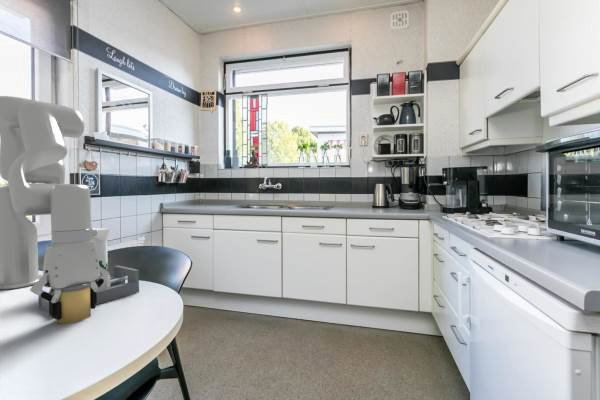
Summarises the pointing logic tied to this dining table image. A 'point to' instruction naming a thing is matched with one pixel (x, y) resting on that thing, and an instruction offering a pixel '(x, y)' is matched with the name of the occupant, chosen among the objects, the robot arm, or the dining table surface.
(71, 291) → the honey jar
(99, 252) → the milk carton
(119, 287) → the grey open rectangular box
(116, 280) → the pusher
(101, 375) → the dining table surface
